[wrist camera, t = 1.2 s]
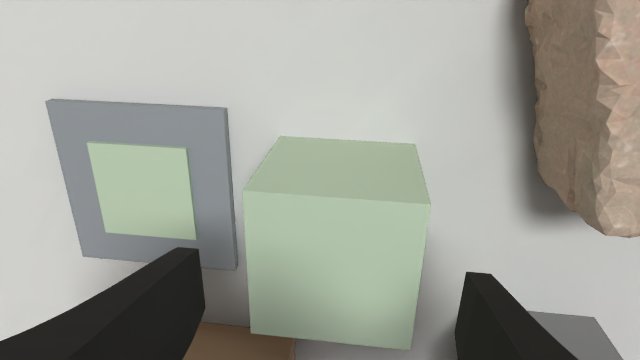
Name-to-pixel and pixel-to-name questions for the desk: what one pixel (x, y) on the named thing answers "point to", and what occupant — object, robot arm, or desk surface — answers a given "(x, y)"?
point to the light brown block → (237, 344)
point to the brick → (589, 107)
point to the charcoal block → (578, 335)
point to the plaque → (147, 179)
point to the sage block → (336, 241)
